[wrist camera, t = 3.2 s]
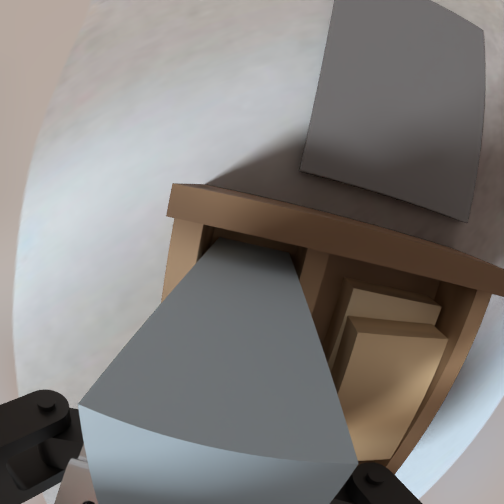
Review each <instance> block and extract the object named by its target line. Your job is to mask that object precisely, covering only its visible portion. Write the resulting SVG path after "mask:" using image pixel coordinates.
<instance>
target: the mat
mask: <svg viewBox="0 0 504 504" xmlns="http://www.w3.org/2000/svg"><path fill="white" fill-rule="evenodd" d="M484 101H485V51H484V34H483V30H482V29H481V28H479V27H478V26H476V25H474V24H473V23H471V22H469V21H468V20H466V19H464V18H462V17H461V16H459V15H457V14H455V13H454V12H452V11H450V10H448V9H446V8H444V7H442V6H440V5H438V4H436V3H434V2H432V1H430V0H334V5H333V11H332V16H331V21H330V27H329V32H328V37H327V42H326V47H325V52H324V57H323V62H322V67H321V72H320V77H319V82H318V87H317V92H316V96H315V101H314V106H313V110H312V115H311V120H310V124H309V129H308V134H307V138H306V143H305V147H304V152H303V156H302V161H301V165H300V169H299V171H300V172H304V173H308V174H312V175H316V176H320V177H324V178H327V179H331V180H335V181H338V182H342V183H346V184H349V185H353V186H356V187H360V188H363V189H366V190H370V191H373V192H376V193H380V194H383V195H386V196H389V197H392V198H395V199H399V200H402V201H405V202H408V203H411V204H414V205H417V206H420V207H422V208H425V209H428V210H431V211H434V212H437V213H440V214H442V215H445V216H448V217H450V218H453V219H456V220H459V221H461V222H465V223H468V219H469V214H470V209H471V205H472V200H473V195H474V189H475V184H476V178H477V171H478V165H479V157H480V150H481V141H482V131H483V118H484Z"/></svg>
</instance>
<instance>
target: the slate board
mask: <svg viewBox="0 0 504 504" xmlns="http://www.w3.org/2000/svg"><path fill="white" fill-rule="evenodd" d="M78 408H79V416H80V422H81V429H82V435H83V441H84V446H85V451H86V456H87V461H88V466H89V470H90V474H91V479H92V483H93V487H94V491H95V494H96V498H97V502H98V504H330V502H331V501H332V500H333V499H334V497H335V496H336V495H337V493H338V492H339V491H340V489H341V488H342V487H343V485H344V484H345V483H346V481H347V480H348V478H349V477H350V476H351V474H352V473H353V471H354V470H355V468H356V467H357V465H358V464H359V463H358V460H357V456H356V453H355V450H354V446H353V443H352V440H351V436H350V433H349V430H348V426H347V423H346V420H345V417H344V414H343V410H342V407H341V404H340V401H339V398H338V394H337V391H336V388H335V385H334V382H333V379H332V376H331V373H330V370H329V367H328V364H327V361H326V358H325V354H324V351H323V348H322V345H321V342H320V340H319V337H318V334H317V331H316V328H315V325H314V322H313V319H312V316H311V313H310V310H309V307H308V304H307V302H306V299H305V296H304V293H303V290H302V287H301V284H300V282H299V279H298V276H297V273H296V270H295V268H294V265H293V262H292V259H291V257H290V254H289V253H288V252H284V251H280V250H275V249H271V248H266V247H262V246H258V245H253V244H249V243H244V242H240V241H236V240H231V239H227V238H222V237H219V238H218V239H217V240H216V242H215V243H214V244H213V245H212V246H211V247H210V248H209V249H208V250H207V252H206V253H205V254H204V255H203V256H202V257H201V258H200V259H199V261H198V262H197V263H196V264H195V265H194V266H193V267H192V269H191V270H190V271H189V272H188V273H187V274H186V275H185V277H184V278H183V279H182V280H181V281H180V282H179V283H178V285H177V286H176V287H175V288H174V289H173V290H172V291H171V293H170V294H169V295H168V296H167V297H166V298H165V300H164V301H163V302H162V303H161V304H160V305H159V307H158V308H157V309H156V310H155V311H154V312H153V314H152V315H151V316H150V317H149V318H148V319H147V321H146V322H145V323H144V324H143V325H142V327H141V328H140V329H139V330H138V331H137V332H136V334H135V335H134V336H133V337H132V338H131V340H130V341H129V342H128V343H127V344H126V346H125V347H124V348H123V349H122V350H121V352H120V353H119V354H118V355H117V356H116V358H115V359H114V360H113V361H112V362H111V364H110V365H109V366H108V367H107V369H106V370H105V371H104V372H103V373H102V375H101V376H100V377H99V378H98V380H97V381H96V382H95V383H94V385H93V386H92V387H91V388H90V390H89V391H88V392H87V393H86V395H85V396H84V397H83V398H82V400H81V401H80V402H79V403H78Z"/></svg>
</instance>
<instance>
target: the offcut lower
mask: <svg viewBox="0 0 504 504" xmlns="http://www.w3.org/2000/svg"><path fill="white" fill-rule="evenodd" d="M441 308H442V307H441V306H440V305H439V304H437V303H436V302H435V301H433V300H432V299H431V298H429V297H428V296H427V295H423V294H418V293H414V292H409V291H405V290H400V289H396V288H391V287H387V286H382V285H378V284H373V283H369V282H364V281H360V280H355V279H351V278H346V277H344V280H343V283H342V287H341V290H340V293H339V296H338V300H337V303H336V306H335V309H334V312H333V315H332V318H331V321H330V324H329V327H328V330H327V333H326V336H325V339H324V342H323V345H322V348H323V351H324V354H325V358H326V361H327V364H328V367H329V370H330V373H331V371H332V368H333V365H334V362H335V358H336V355H337V352H338V348H339V345H340V341H341V338H342V334H343V331H344V327H345V323H346V320H347V316H357V317H366V318H375V319H384V320H394V321H405V322H415V323H427V324H432V325H434V326H435V323H436V321H437V318H438V316H439V313H440V310H441Z"/></svg>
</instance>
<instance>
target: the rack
mask: <svg viewBox="0 0 504 504" xmlns="http://www.w3.org/2000/svg"><path fill="white" fill-rule="evenodd" d="M166 216H168V217H172V218H174V224H173V229H172V235H171V241H170V247H169V253H168V259H167V266H166V272H165V279H164V286H163V293H162V301H161V303H162V302H163V301H164V300H165V298H166V297H167V296H168V295H169V294H170V293H171V291H172V290H173V289H174V288H175V287H176V286H177V285H178V283H179V282H180V281H181V280H182V279H183V278H184V277H185V275H186V274H187V273H188V272H189V271H190V270H191V269H192V267H193V266H194V265H195V264H196V263H197V262H198V261H199V259H200V258H201V257H202V256H203V255H204V254H205V253H206V252H207V250H208V249H209V248H210V247H211V246H212V245H213V244H214V243H215V242H216V240H217V239H218V238H219V237H222V238H227V239H231V240H236V241H240V242H244V243H249V244H253V245H258V246H262V247H266V248H271V249H275V250H280V251H284V252H288V253H289V254H290V257H291V259H292V262H293V265H294V268H295V270H296V273H297V276H298V279H299V282H300V284H301V287H302V290H303V293H304V296H305V299H306V302H307V304H308V307H309V310H310V313H311V316H312V319H313V322H314V325H315V328H316V331H317V334H318V337H319V340H320V342H321V345H323V342H324V339H325V336H326V333H327V330H328V327H329V324H330V321H331V318H332V315H333V312H334V309H335V306H336V303H337V300H338V296H339V293H340V290H341V287H342V283H343V280H344V277H346V278H351V279H355V280H360V281H364V282H369V283H373V284H378V285H382V286H387V287H391V288H396V289H400V290H405V291H409V292H414V293H418V294H423V295H427V296H428V297H429V298H431V299H432V300H433V301H435V302H436V303H437V304H439V305H440V306H441V307H442V308H441V310H440V313H439V316H438V318H437V321H436V323H435V327H436V328H437V329H438V330H439V331H440V332H441V333H442V334H443V335H444V336H446V337H447V338H448V342H447V344H446V347H445V350H444V352H443V355H442V357H441V360H440V362H439V365H438V367H437V369H436V372H435V374H434V376H433V379H432V381H431V383H430V385H429V387H428V390H427V392H426V394H425V396H424V398H423V400H422V402H421V404H420V406H419V408H418V410H417V412H416V414H415V416H414V418H413V420H412V422H411V424H410V426H409V427H408V429H407V431H406V433H405V435H404V436H403V438H402V440H401V442H400V443H399V445H398V447H397V449H396V450H395V452H394V454H393V455H392V457H391V458H390V459H382V460H365V461H358V463H359V464H358V465H360V464H362V463H367V462H373V463H378V464H381V465H383V466H385V467H386V468H388V469H389V470H390V471H391V472H392V473H393V474H394V475H395V473H396V472H397V471H398V469H399V468H400V467H401V465H402V464H403V463H404V461H405V460H406V459H407V457H408V456H409V454H410V453H411V452H412V450H413V449H414V447H415V446H416V444H417V443H418V441H419V440H420V438H421V437H422V435H423V434H424V432H425V431H426V429H427V428H428V426H429V425H430V423H431V421H432V420H433V418H434V417H435V415H436V413H437V412H438V410H439V408H440V406H441V405H442V403H443V401H444V399H445V398H446V396H447V394H448V392H449V390H450V389H451V387H452V385H453V383H454V381H455V379H456V377H457V375H458V373H459V371H460V369H461V367H462V365H463V363H464V361H465V359H466V357H467V355H468V352H469V350H470V348H471V346H472V343H473V341H474V339H475V337H476V334H477V332H478V329H479V327H480V324H481V322H482V319H483V317H484V314H485V312H486V309H487V306H488V303H489V301H490V298H491V295H492V294H495V295H499V296H503V297H504V269H502V268H500V267H497V266H495V265H493V264H490V263H488V262H485V261H483V260H480V259H478V258H475V257H473V256H470V255H468V254H465V253H463V252H460V251H458V250H455V249H452V248H449V247H446V246H443V245H440V244H436V243H433V242H430V241H427V240H423V239H420V238H417V237H413V236H410V235H407V234H403V233H400V232H397V231H393V230H390V229H386V228H383V227H379V226H375V225H372V224H368V223H365V222H361V221H357V220H354V219H350V218H346V217H342V216H338V215H335V214H331V213H327V212H323V211H319V210H315V209H311V208H307V207H303V206H299V205H295V204H291V203H286V202H282V201H278V200H274V199H269V198H265V197H261V196H256V195H252V194H247V193H243V192H238V191H233V190H229V189H224V188H219V187H214V186H209V185H205V184H174V183H173V184H172V189H171V194H170V199H169V204H168V210H167V215H166ZM358 465H357V466H358Z"/></svg>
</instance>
